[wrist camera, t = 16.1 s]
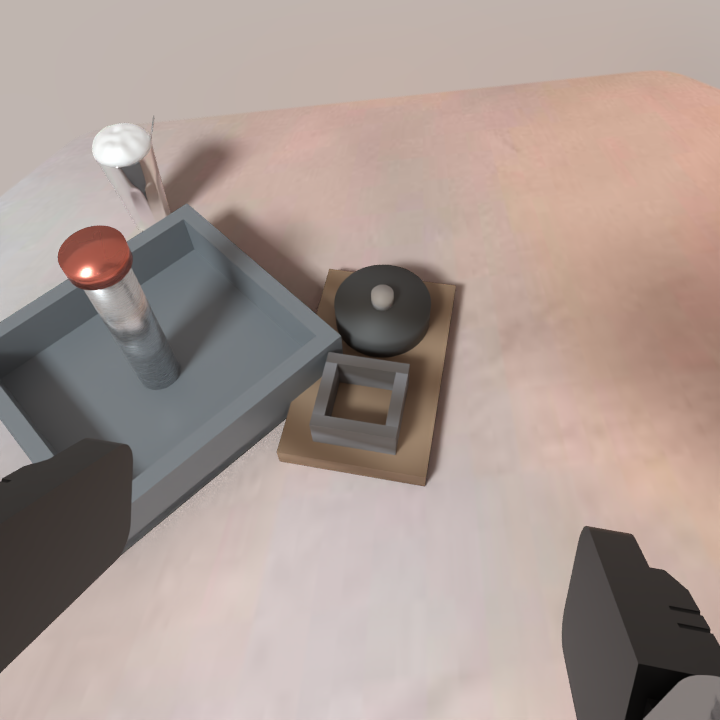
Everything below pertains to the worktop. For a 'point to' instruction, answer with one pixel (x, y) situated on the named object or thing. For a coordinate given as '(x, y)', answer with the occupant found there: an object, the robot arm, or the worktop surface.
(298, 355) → the tray
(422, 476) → the wooden stand
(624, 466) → the worktop surface
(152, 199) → the milkshake
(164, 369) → the pin
